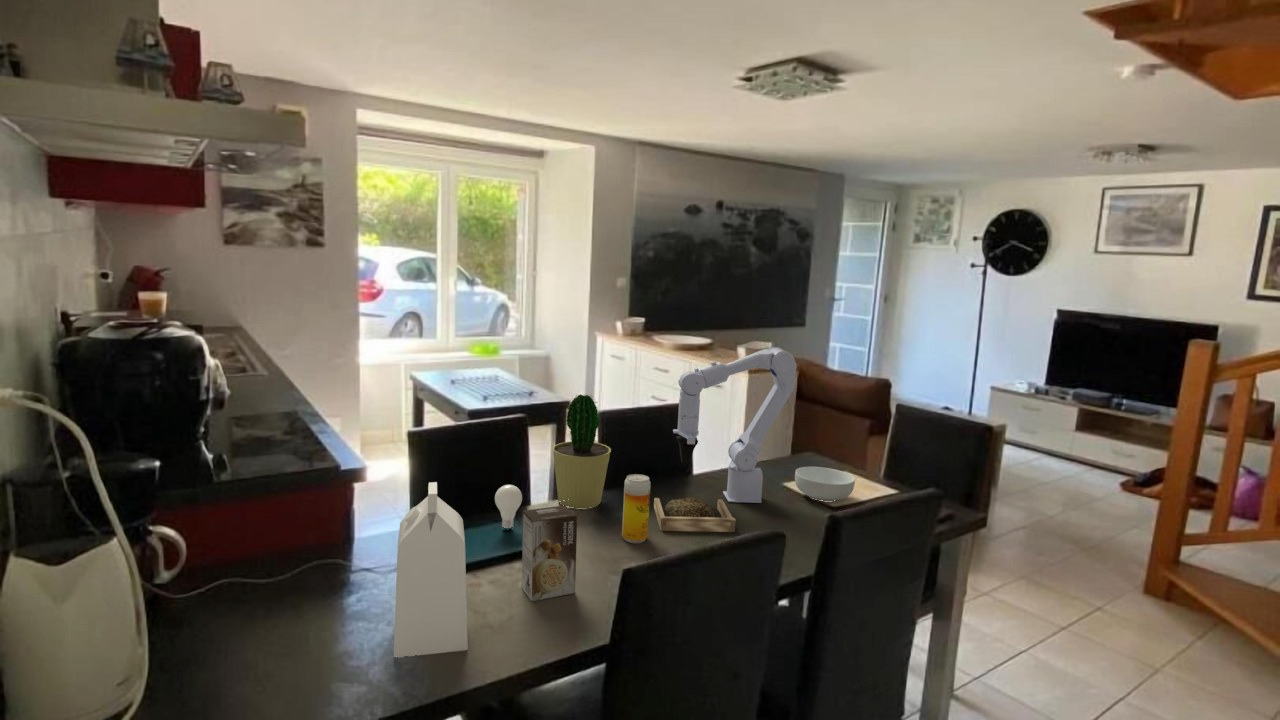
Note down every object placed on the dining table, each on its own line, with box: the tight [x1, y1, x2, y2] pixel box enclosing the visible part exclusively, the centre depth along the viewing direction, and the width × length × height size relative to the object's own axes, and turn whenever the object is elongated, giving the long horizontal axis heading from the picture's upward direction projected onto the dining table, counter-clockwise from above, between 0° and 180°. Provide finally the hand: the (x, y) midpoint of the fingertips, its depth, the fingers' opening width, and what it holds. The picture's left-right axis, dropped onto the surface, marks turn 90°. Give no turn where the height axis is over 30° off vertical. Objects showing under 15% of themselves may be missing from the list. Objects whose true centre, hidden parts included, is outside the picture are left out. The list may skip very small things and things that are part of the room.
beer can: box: [621, 473, 652, 544], centre depth 161 cm, size 6×6×15 cm
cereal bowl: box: [794, 466, 856, 501], centre depth 198 cm, size 17×17×7 cm
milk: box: [393, 481, 469, 659], centre depth 116 cm, size 12×12×26 cm
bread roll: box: [664, 497, 715, 517], centre depth 180 cm, size 13×12×5 cm
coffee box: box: [521, 505, 578, 602], centre depth 134 cm, size 9×6×16 cm
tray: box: [653, 497, 737, 533], centre depth 177 cm, size 18×16×3 cm
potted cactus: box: [552, 394, 612, 508], centre depth 183 cm, size 15×15×30 cm
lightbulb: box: [494, 484, 523, 528], centre depth 163 cm, size 6×6×11 cm
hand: (685, 462), depth 192 cm, fingers closed
